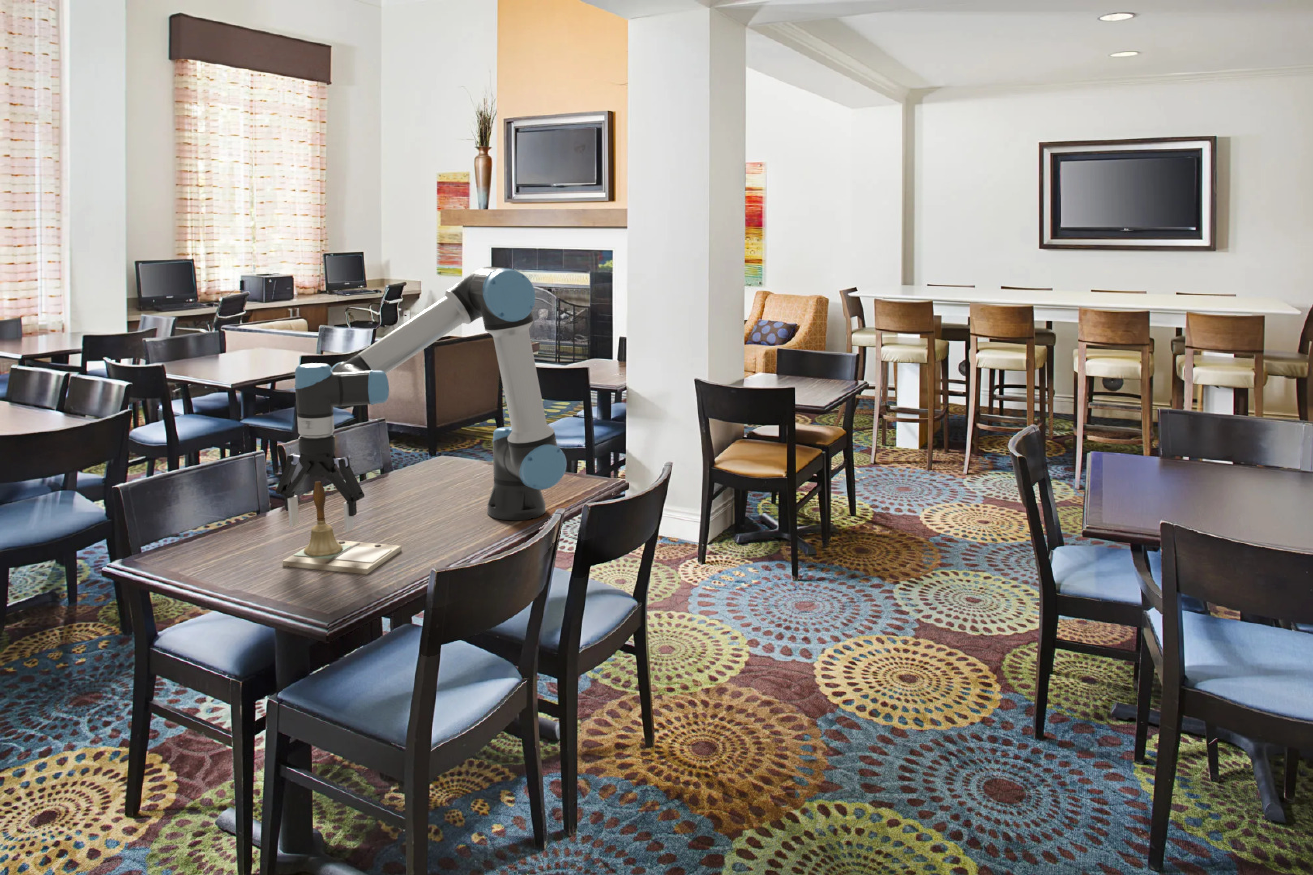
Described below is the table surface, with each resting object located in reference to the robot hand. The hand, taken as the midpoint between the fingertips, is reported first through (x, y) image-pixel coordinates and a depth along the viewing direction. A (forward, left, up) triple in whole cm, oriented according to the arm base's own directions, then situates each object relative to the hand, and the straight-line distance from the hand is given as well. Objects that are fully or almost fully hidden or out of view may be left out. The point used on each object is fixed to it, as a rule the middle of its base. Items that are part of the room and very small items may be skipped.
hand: (321, 527), depth 215 cm
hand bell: (0, 0, -6) cm, 6 cm away
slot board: (-5, 0, -7) cm, 8 cm away
